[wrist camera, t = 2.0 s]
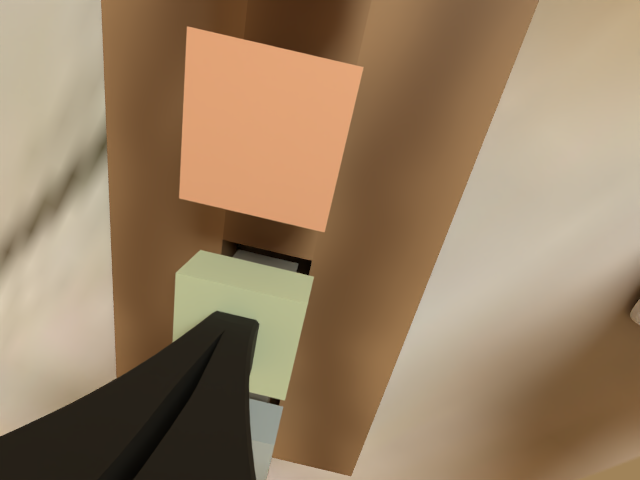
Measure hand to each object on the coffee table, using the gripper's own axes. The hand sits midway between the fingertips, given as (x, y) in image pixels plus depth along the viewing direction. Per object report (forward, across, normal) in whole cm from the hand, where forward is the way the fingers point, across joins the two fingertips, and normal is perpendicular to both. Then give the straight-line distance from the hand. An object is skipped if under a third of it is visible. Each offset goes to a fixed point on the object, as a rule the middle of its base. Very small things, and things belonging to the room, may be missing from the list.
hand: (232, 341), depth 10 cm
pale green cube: (+4, 0, 0) cm, 4 cm away
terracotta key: (+4, 0, -6) cm, 7 cm away
